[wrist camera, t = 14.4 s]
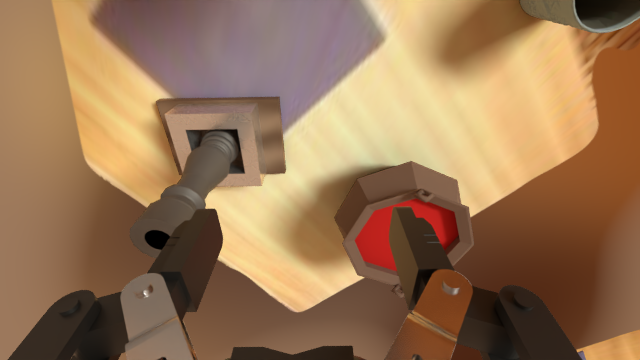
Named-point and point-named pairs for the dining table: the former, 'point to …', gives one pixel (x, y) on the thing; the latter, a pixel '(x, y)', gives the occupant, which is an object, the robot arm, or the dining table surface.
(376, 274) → the brown cauldron
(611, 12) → the grey cylindrical container
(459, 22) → the dining table surface
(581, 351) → the signage
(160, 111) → the socket board
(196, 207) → the candle holder
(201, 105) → the square collar
